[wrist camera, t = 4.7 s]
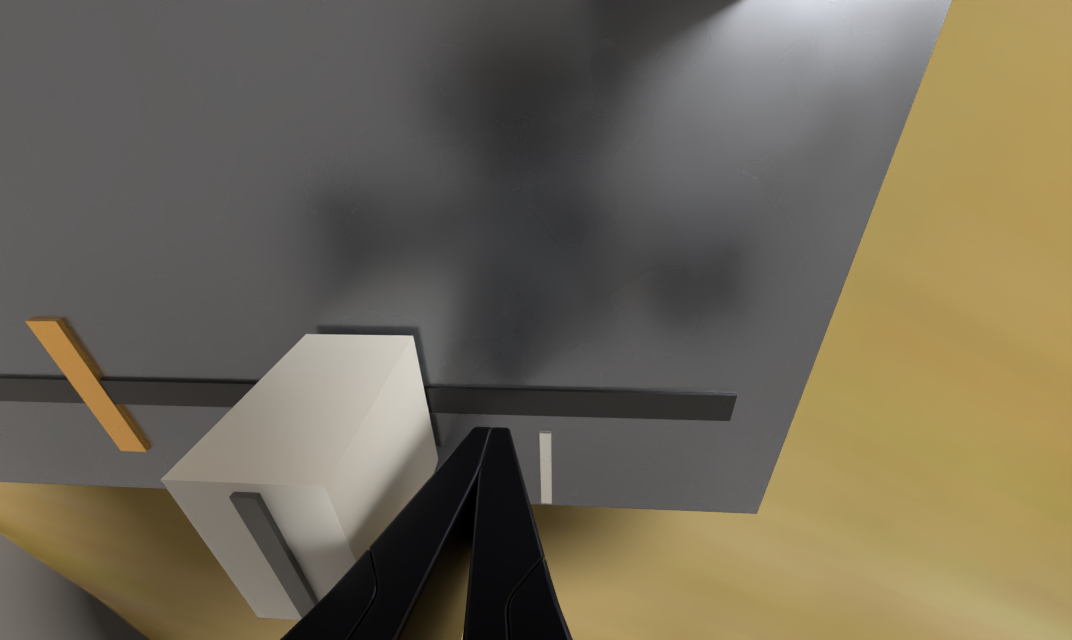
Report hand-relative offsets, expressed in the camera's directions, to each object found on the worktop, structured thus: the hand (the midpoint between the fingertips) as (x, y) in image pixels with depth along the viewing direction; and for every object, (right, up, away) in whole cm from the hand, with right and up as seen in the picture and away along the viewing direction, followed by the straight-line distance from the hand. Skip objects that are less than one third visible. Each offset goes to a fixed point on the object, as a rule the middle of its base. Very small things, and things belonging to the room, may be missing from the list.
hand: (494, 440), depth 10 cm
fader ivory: (-3, +1, +1) cm, 3 cm away
